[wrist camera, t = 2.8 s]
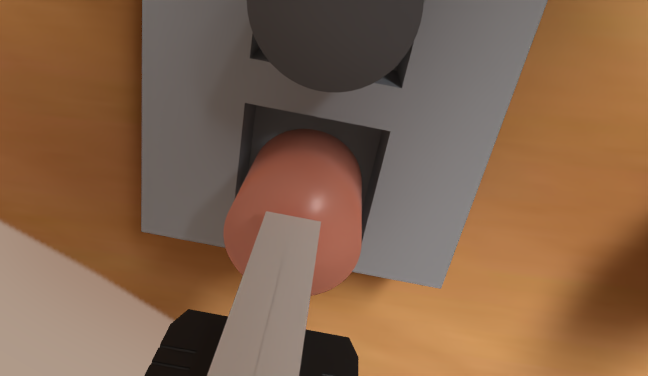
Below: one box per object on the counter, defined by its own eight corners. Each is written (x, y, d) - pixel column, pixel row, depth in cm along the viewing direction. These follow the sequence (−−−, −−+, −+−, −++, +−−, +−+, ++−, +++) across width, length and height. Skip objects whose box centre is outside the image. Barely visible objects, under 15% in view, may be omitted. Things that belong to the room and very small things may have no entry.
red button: (258, 118, 16) (229, 166, 13) (372, 140, 16) (375, 194, 13) (246, 217, 18) (218, 283, 15) (349, 236, 18) (346, 307, 15)
